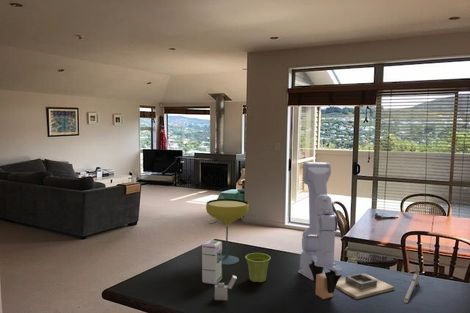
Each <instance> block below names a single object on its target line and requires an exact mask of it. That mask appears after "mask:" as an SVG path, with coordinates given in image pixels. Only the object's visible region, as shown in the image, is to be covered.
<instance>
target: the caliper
mask: <svg viewBox="0 0 470 313" xmlns="http://www.w3.org/2000/svg"><path fill="white" fill-rule="evenodd" d="M419 281H420V268H417V267H416V268H415V271H414V274H413V277H412V280H411V283H410V285H409V287H408V289H407V291H406V295H405V297H404V300H403V303H405V304H408V302H409V301H410V299H411V296H412V294H413V290H414V289H415V287H416V286H418V284H419Z"/></svg>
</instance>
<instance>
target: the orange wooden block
mask: <svg viewBox="0 0 470 313" xmlns="http://www.w3.org/2000/svg"><path fill="white" fill-rule="evenodd" d="M325 273H326V272H324V273H320V274H316V285H315V295H316V296H318V297H319V298H321V299H322V300H324V299H328V298H334V297H333V293H334V292H333V293H328V289H327V279H326V275H325Z"/></svg>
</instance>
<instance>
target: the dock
mask: <svg viewBox="0 0 470 313" xmlns="http://www.w3.org/2000/svg"><path fill="white" fill-rule="evenodd" d="M335 289H338V290H339V291H341V292H343V293H345V294H347V295H348V296H350V297H352V298H353V299H355V300H360V299H363V298H367V297H371V296H375V295H379V294H383V293H387V292H390V291H394V290H395V286H393V285H391V284H389V283H387V282H385V281H383V280H380V279H378V278H376V277H373V276H372V275H369V274H368V273H365V272H363V273H362V272H360V273H356V274H350V275H346V276H344V277H340V278H339V280H338V282H337V284H336V287H335Z"/></svg>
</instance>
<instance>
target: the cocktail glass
mask: <svg viewBox="0 0 470 313" xmlns="http://www.w3.org/2000/svg"><path fill="white" fill-rule="evenodd" d="M249 208H250V206H249V202H248V201H245V200H242V199H234V198H219V199H212V200H211V199H210V200H208V201H207V202H206V205H205V210H206V212H207V214H208V215H209V216H210V217H212V218H213V219H216V220H218V221H220V222H221V223H222V224H223V225H224V226H225V228H226V230H225V231H226V233H225V234H226V235H225V254H224V255H222V266H229V265H235V264H238V263H239V262H240V259H239V257H237V256H233V255H229V251H228V250H229V249H228V248H229V247H228V246H229V243H228V237H229V236H228V235H229V232H228V230H229V227H230V225H231V224H232V223H233V222H235V221H237V220H240V219H241V218H243V217H245V216H246V215H247V214H248V212H249Z"/></svg>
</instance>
